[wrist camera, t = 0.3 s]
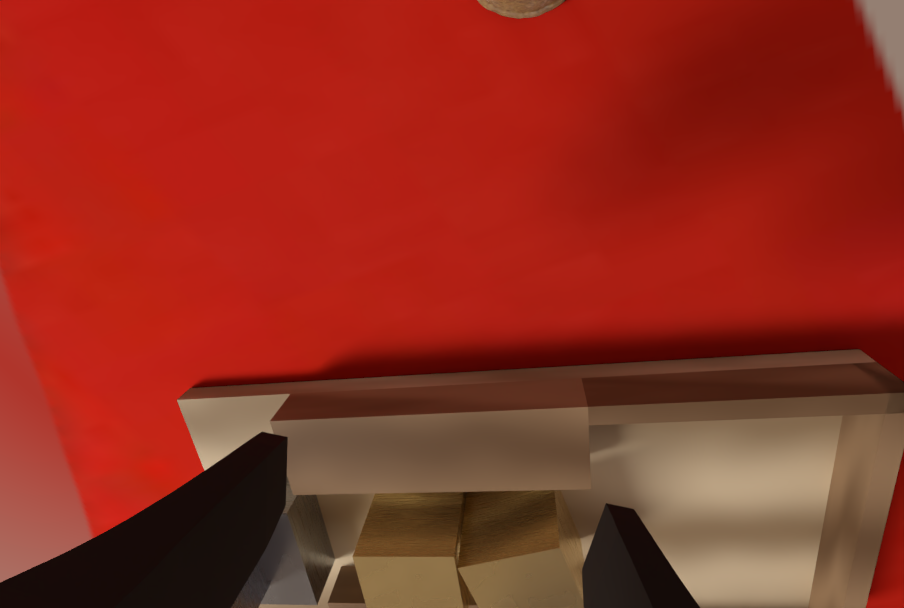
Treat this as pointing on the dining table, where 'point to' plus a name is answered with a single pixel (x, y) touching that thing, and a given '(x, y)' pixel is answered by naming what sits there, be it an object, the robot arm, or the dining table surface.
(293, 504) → the brushed metal block
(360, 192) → the dining table surface
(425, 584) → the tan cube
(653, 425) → the slot board
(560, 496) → the golden brown cube
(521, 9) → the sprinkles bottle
